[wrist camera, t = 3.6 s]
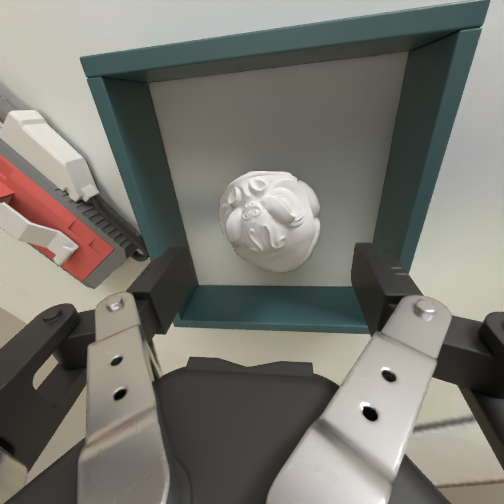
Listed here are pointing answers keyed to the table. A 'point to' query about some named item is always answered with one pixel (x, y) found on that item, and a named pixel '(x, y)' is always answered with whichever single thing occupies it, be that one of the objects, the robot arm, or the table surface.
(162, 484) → the robot arm
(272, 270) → the white rounded figurine
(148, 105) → the open box
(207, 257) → the table surface
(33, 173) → the walkie-talkie
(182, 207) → the table surface
